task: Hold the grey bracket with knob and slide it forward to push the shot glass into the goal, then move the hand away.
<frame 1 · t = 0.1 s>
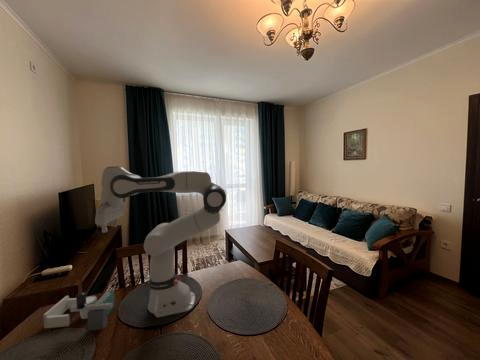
hand: (109, 229, 99), 39 cm above the table, tool pointing down, fingers open, 8 cm apart
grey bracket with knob: (100, 301, 94), point 8 cm above the table, slide at 0.0 cm
goal: (69, 316, 96), on the table
rod housing: (98, 327, 89), on the table
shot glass: (88, 315, 97), on the table
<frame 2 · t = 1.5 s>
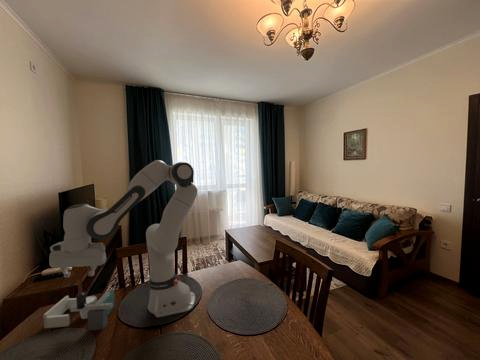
hand: (79, 276, 87), 23 cm above the table, tool pointing down, fingers open, 8 cm apart
nothing on the table moved.
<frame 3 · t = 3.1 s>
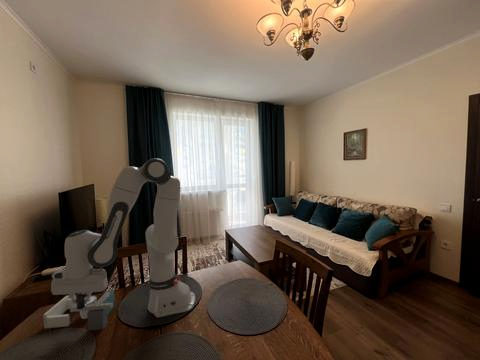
hand: (81, 301, 88), 12 cm above the table, tool pointing down, fingers closed on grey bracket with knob, 3 cm apart
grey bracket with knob: (100, 301, 94), point 8 cm above the table, slide at 0.0 cm, touching gripper
everything else where it was.
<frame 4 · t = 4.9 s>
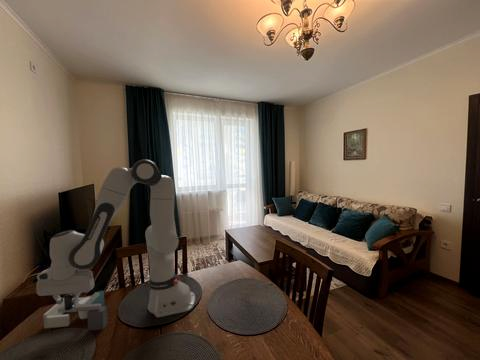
hand: (67, 302, 87), 12 cm above the table, tool pointing down, fingers open, 4 cm apart
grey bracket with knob: (88, 302, 94), point 8 cm above the table, slide at 4.7 cm, touching gripper, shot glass
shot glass: (87, 315, 97), on the table, touching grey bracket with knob
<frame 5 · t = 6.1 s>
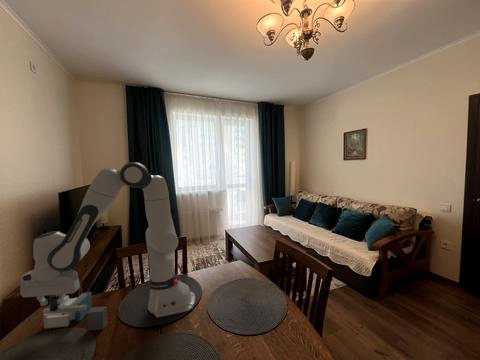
hand: (52, 304, 87), 12 cm above the table, tool pointing down, fingers open, 5 cm apart
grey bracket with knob: (75, 303, 93), point 8 cm above the table, slide at 10.4 cm, touching gripper, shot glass
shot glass: (73, 316, 96), on the table, touching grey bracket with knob
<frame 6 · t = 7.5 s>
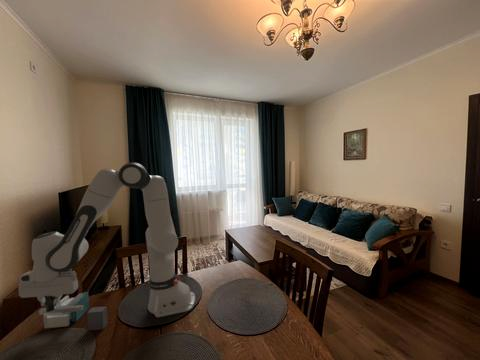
hand: (50, 304, 87), 12 cm above the table, tool pointing down, fingers closed on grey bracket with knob, 3 cm apart
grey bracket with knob: (71, 303, 93), point 8 cm above the table, slide at 11.8 cm, touching gripper, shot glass
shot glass: (70, 316, 96), on the table, touching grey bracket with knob
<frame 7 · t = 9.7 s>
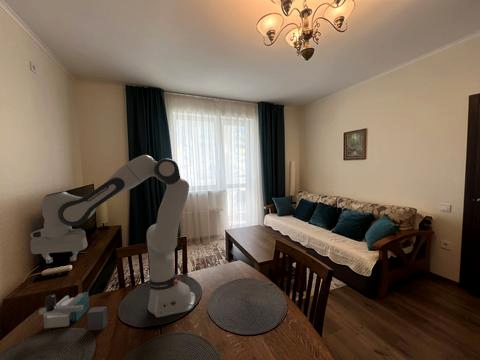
hand: (61, 261, 90), 28 cm above the table, tool pointing down, fingers open, 8 cm apart
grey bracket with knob: (71, 303, 93), point 8 cm above the table, slide at 11.8 cm, touching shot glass
everything else where it was.
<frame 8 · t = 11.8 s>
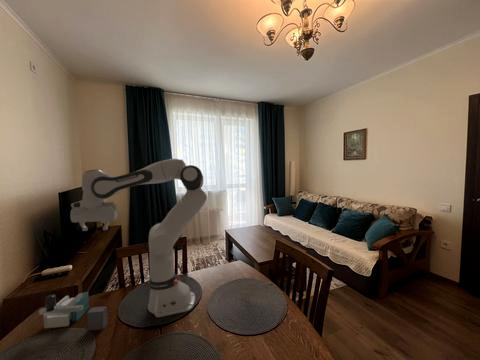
hand: (95, 230, 104), 37 cm above the table, tool pointing down, fingers open, 8 cm apart
nothing on the table moved.
at the end: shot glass inside the target area (1.5 cm from its centre), on the table; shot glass tilted 4°; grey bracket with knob slide at 11.8 cm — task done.
